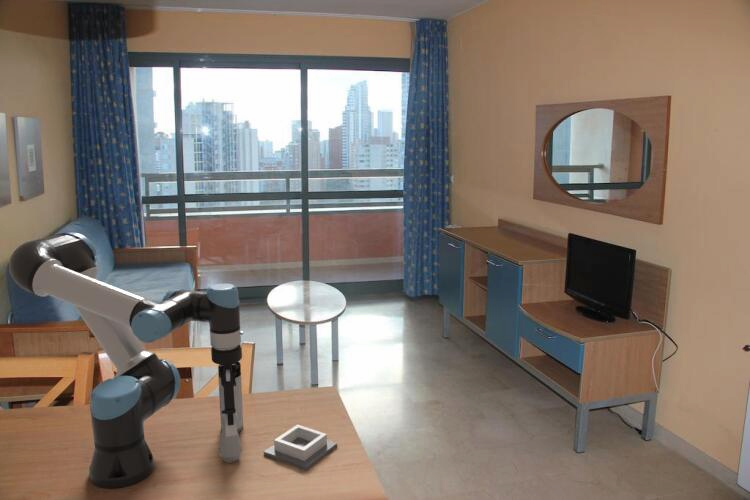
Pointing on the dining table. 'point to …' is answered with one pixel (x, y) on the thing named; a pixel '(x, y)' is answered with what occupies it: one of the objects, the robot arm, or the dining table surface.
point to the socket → (300, 447)
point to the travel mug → (237, 396)
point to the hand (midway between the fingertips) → (230, 422)
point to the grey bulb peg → (229, 444)
